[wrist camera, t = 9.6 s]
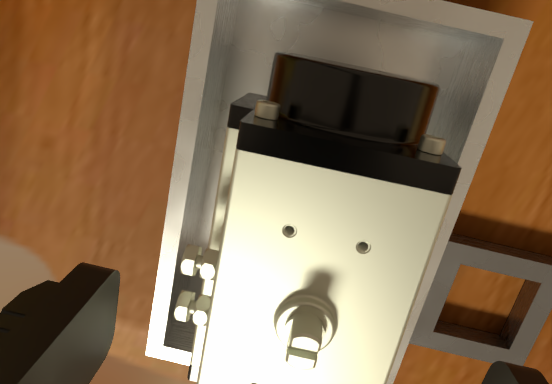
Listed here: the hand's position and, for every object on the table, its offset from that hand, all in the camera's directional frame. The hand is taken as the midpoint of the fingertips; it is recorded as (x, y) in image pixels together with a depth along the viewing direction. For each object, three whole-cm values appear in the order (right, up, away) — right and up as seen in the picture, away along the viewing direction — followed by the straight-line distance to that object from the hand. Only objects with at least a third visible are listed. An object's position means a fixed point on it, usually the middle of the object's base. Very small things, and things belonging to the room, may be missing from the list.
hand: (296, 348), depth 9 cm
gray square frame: (+10, -2, +13) cm, 17 cm away
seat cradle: (+1, +4, +12) cm, 13 cm away
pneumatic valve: (+1, +4, +12) cm, 12 cm away
